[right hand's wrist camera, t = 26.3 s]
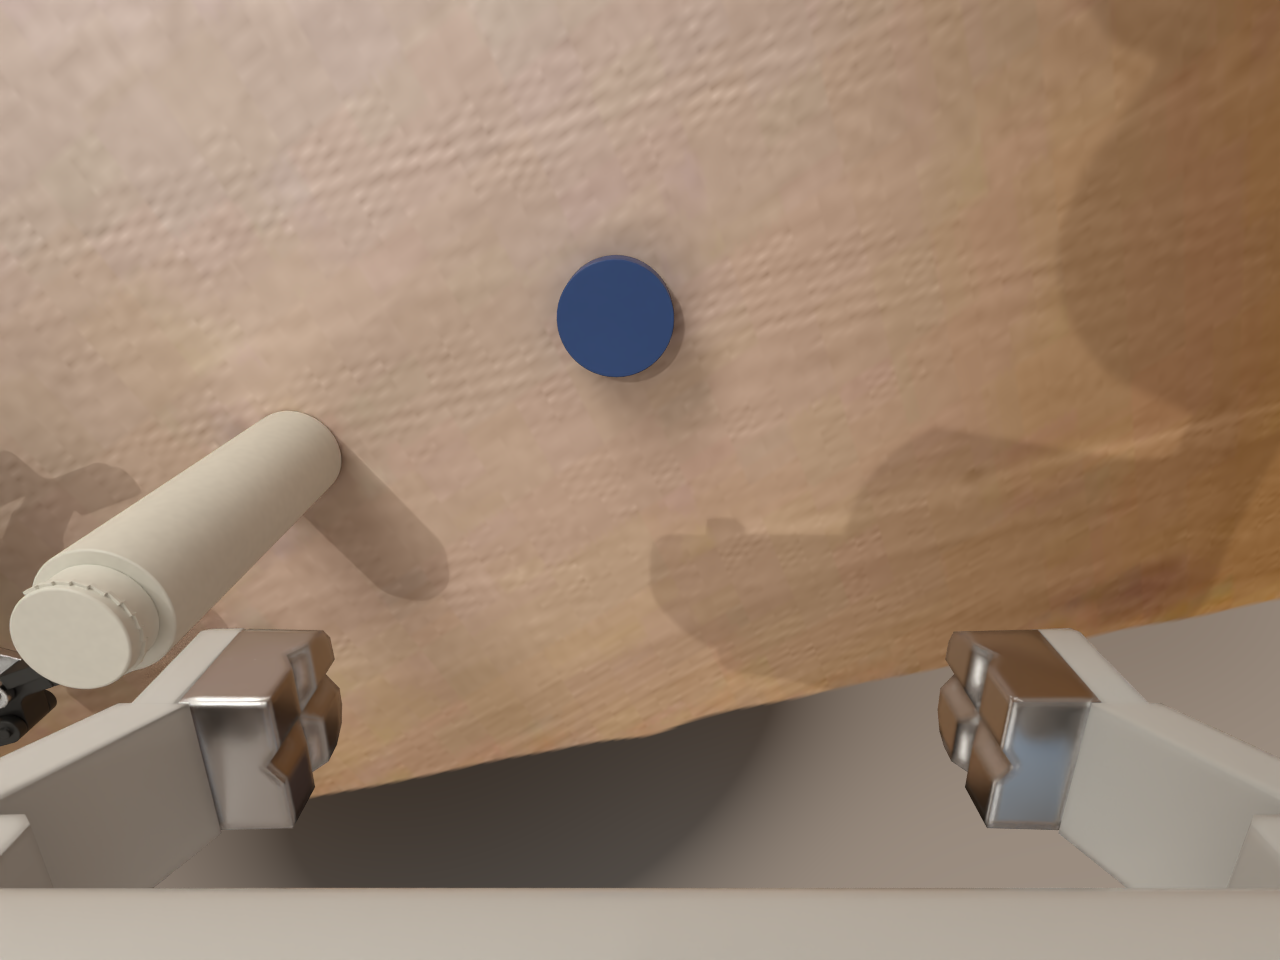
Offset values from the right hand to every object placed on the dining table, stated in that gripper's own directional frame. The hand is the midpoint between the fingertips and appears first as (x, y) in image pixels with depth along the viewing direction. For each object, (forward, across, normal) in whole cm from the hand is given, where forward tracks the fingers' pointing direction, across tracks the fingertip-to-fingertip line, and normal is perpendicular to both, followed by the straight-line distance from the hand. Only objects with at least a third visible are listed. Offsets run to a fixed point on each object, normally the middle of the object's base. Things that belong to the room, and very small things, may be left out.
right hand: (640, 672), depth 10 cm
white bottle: (+28, +17, +7) cm, 33 cm away
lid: (+26, +1, 0) cm, 26 cm away
